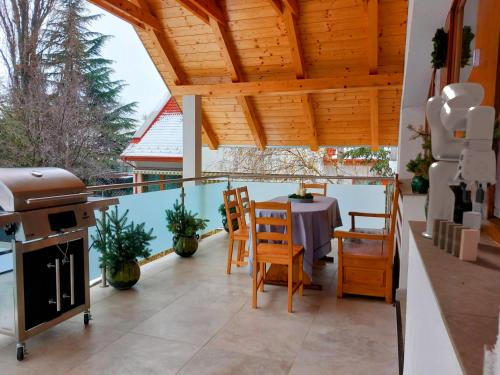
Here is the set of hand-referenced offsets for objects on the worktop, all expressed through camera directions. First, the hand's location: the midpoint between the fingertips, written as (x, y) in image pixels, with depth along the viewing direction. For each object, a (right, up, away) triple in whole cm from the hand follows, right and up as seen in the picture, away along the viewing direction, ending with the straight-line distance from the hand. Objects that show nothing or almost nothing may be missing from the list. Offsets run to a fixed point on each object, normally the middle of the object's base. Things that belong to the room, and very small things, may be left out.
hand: (472, 202), depth 123 cm
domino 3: (0, -18, +12) cm, 22 cm away
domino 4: (-1, -19, +7) cm, 20 cm away
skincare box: (+15, -17, +28) cm, 36 cm away
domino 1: (0, -17, +22) cm, 28 cm away
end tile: (-1, -19, +2) cm, 19 cm away
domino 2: (0, -18, +17) cm, 24 cm away
